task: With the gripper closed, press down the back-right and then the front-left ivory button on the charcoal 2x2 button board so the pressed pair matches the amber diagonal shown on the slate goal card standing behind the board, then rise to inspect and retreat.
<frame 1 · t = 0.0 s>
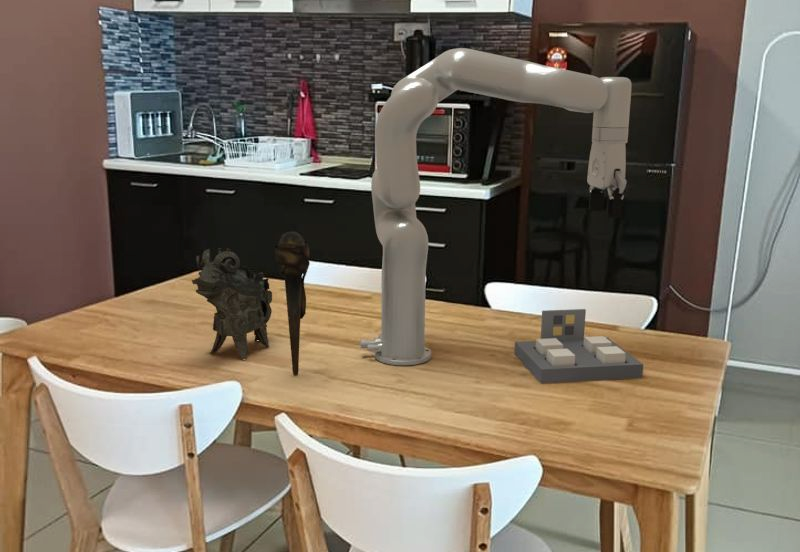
hand: (604, 213, 184), 31 cm above the table, fingers open, 9 cm apart
button C: (549, 347, 179), point 4 cm above the table, slide at 0.0 cm
button B: (610, 355, 174), point 4 cm above the table, slide at 0.0 cm
button D: (597, 345, 181), point 4 cm above the table, slide at 0.0 cm
decorative torch: (295, 375, 172), on the table
board: (575, 365, 179), on the table
goal card: (561, 352, 187), resting on board
vessel: (237, 351, 186), on the table
button A: (560, 357, 173), point 4 cm above the table, slide at 0.0 cm
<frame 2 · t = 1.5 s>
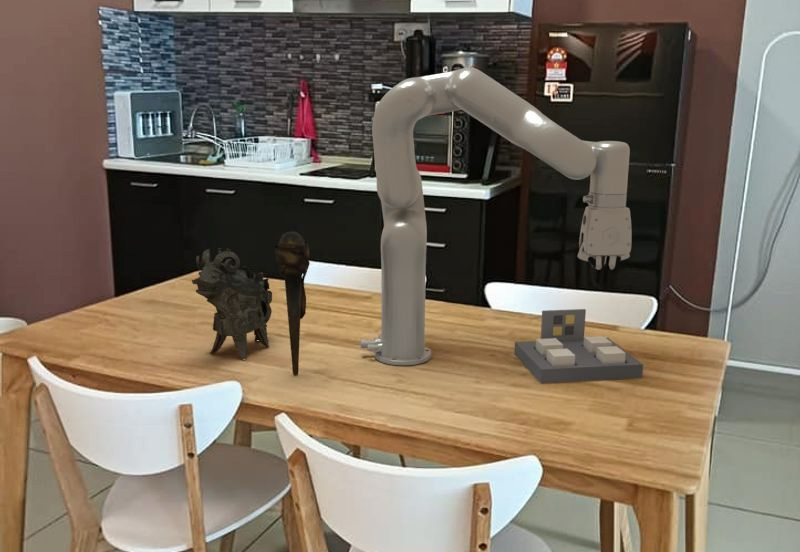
hand: (601, 285, 178), 17 cm above the table, fingers closed
nothing on the table moved.
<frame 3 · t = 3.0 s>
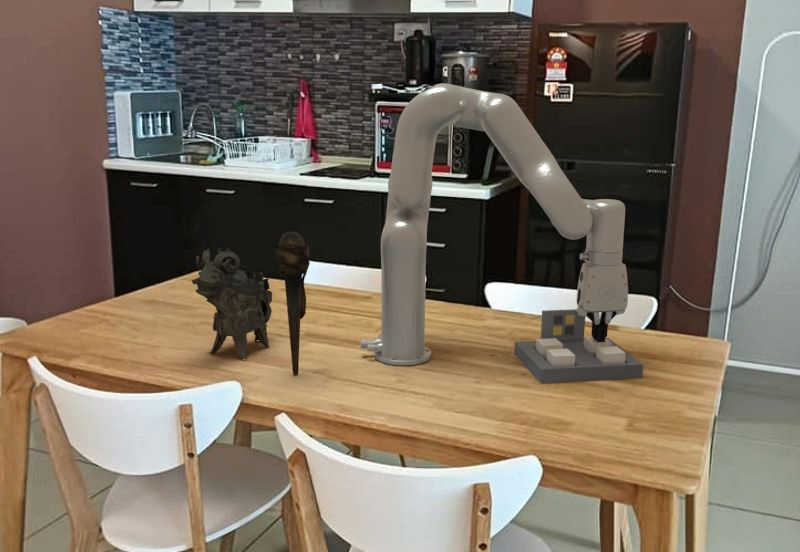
hand: (598, 340, 181), 5 cm above the table, fingers closed
button D: (597, 345, 181), point 4 cm above the table, slide at 0.1 cm, touching gripper
everything else where it was.
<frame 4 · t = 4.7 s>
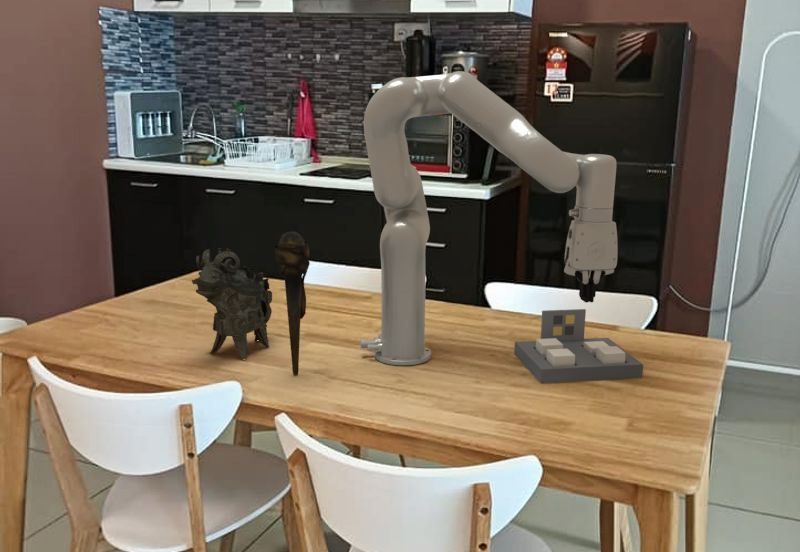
hand: (586, 300, 176), 15 cm above the table, fingers closed
button D: (597, 349, 181), point 3 cm above the table, slide at 1.1 cm
everything else where it was.
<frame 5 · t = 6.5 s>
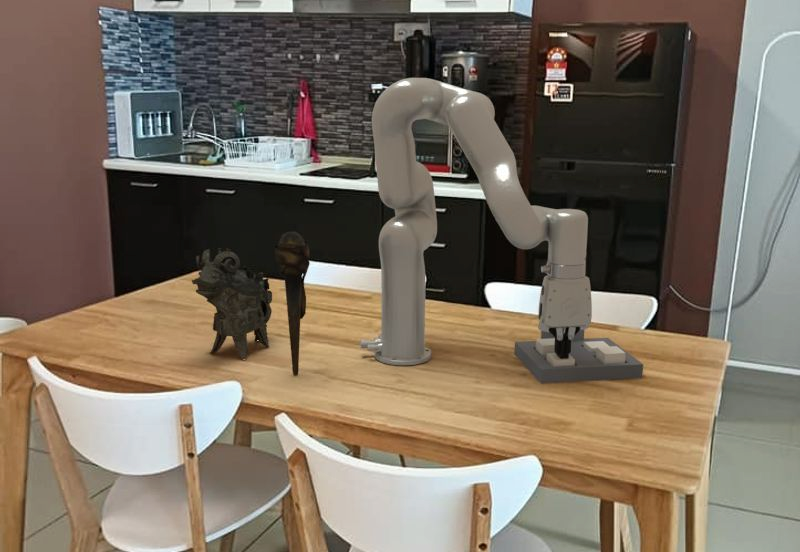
hand: (562, 356, 172), 4 cm above the table, fingers closed
button A: (560, 361, 173), point 3 cm above the table, slide at 0.9 cm, touching gripper
everything else where it was.
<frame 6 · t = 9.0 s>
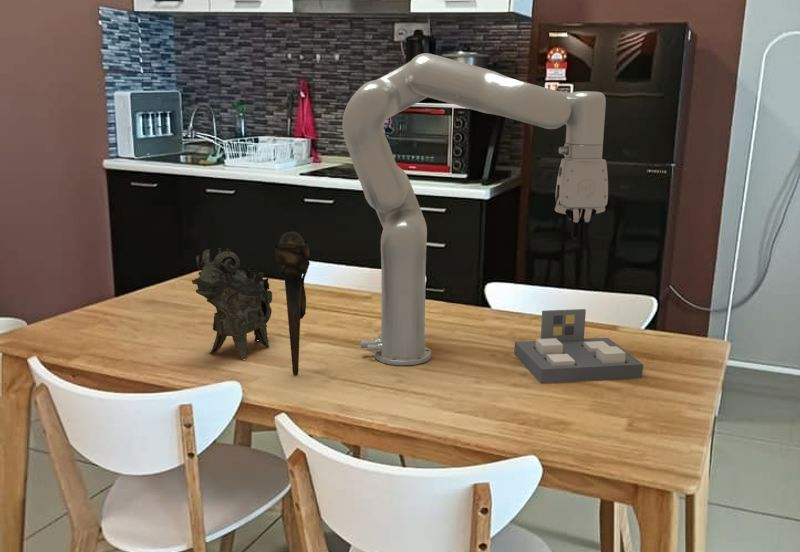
hand: (578, 239, 176), 27 cm above the table, fingers closed
button A: (560, 363, 173), point 3 cm above the table, slide at 1.1 cm
everything else where it was.
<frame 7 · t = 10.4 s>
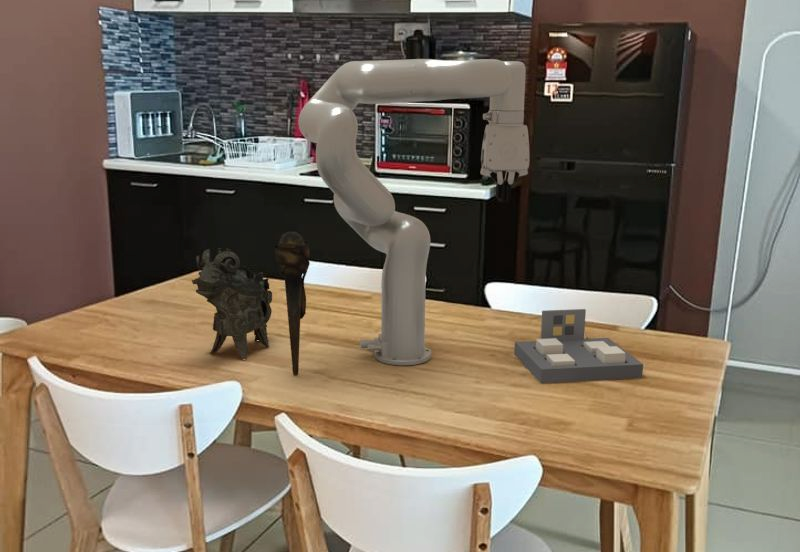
hand: (503, 201, 188), 33 cm above the table, fingers closed
nothing on the table moved.
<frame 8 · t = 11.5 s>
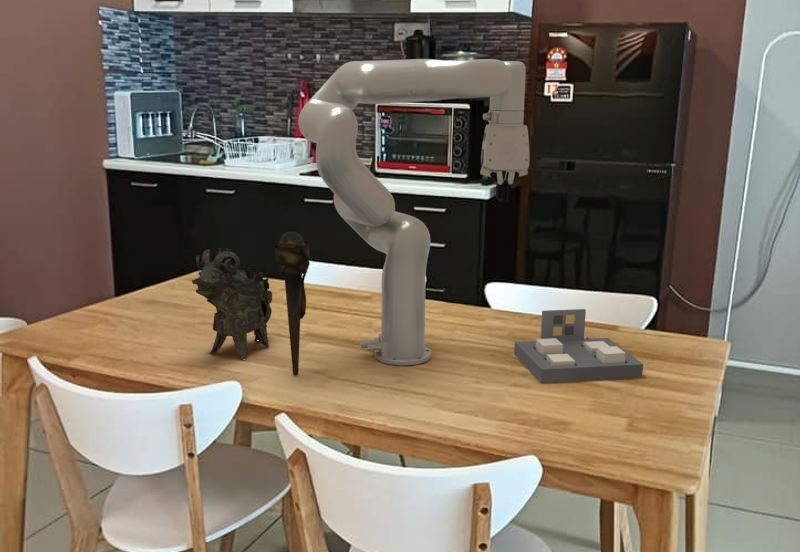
hand: (502, 201, 188), 33 cm above the table, fingers closed
nothing on the table moved.
at the end: button A slide at 1.1 cm; button D slide at 1.1 cm; button B slide at 0.0 cm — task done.
